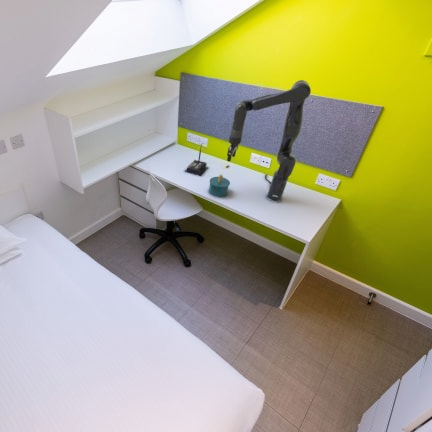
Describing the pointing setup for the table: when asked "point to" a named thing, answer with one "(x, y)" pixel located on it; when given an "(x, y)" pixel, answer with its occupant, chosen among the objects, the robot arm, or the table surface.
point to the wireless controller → (197, 166)
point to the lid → (220, 181)
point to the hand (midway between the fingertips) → (231, 158)
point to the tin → (218, 191)
